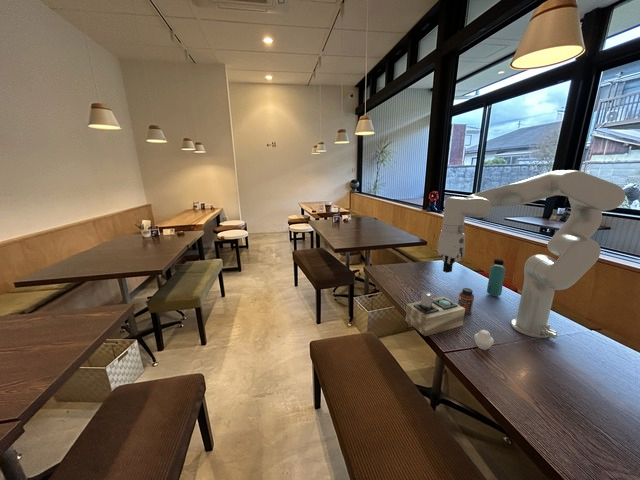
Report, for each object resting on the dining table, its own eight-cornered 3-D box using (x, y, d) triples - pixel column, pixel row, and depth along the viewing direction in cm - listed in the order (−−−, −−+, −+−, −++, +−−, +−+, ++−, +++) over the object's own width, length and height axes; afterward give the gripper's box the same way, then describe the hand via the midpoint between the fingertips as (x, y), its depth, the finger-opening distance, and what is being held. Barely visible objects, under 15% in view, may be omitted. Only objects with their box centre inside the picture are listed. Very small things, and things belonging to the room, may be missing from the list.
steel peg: (433, 313, 107) (435, 295, 105) (425, 315, 105) (427, 297, 103) (426, 308, 111) (427, 291, 109) (417, 310, 109) (419, 292, 107)
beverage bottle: (503, 297, 133) (510, 260, 127) (494, 299, 130) (501, 262, 125) (491, 292, 138) (497, 256, 133) (482, 294, 136) (488, 258, 131)
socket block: (462, 325, 109) (465, 307, 107) (425, 336, 103) (427, 317, 100) (440, 311, 120) (442, 294, 118) (405, 320, 113) (406, 303, 111)
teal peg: (450, 320, 112) (452, 303, 110) (442, 322, 110) (444, 305, 108) (442, 315, 116) (444, 299, 114) (435, 317, 114) (436, 301, 112)
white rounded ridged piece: (470, 346, 96) (472, 330, 94) (476, 339, 100) (479, 323, 98) (488, 355, 92) (491, 338, 90) (494, 347, 95) (497, 331, 94)
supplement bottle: (456, 313, 119) (460, 290, 116) (457, 307, 124) (460, 285, 121) (471, 316, 116) (475, 293, 113) (471, 310, 121) (474, 288, 118)
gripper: (476, 231, 97) (469, 276, 101) (445, 224, 110) (440, 264, 115) (461, 233, 94) (455, 279, 99) (431, 225, 108) (427, 266, 113)
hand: (447, 271), depth 107 cm, fingers closed
